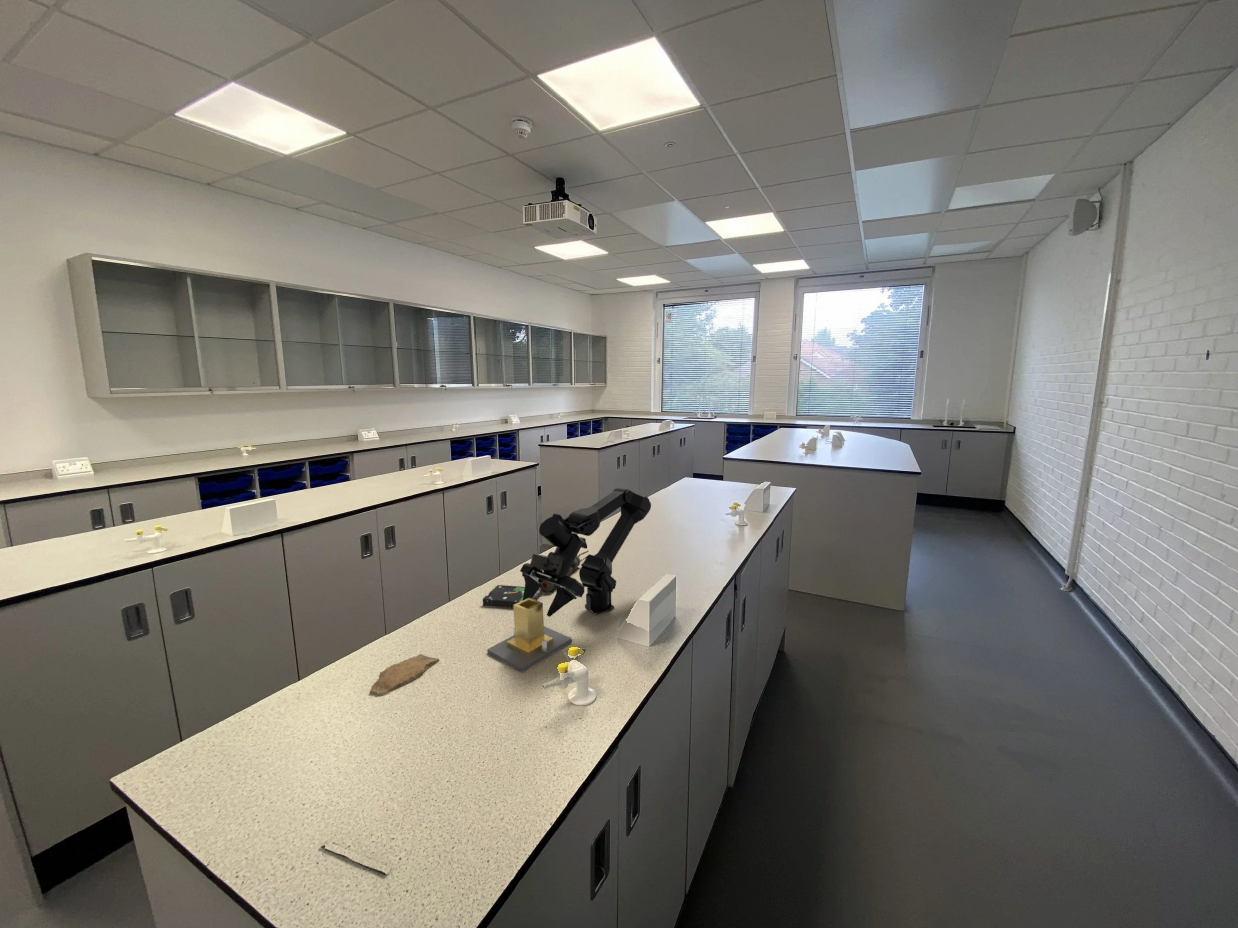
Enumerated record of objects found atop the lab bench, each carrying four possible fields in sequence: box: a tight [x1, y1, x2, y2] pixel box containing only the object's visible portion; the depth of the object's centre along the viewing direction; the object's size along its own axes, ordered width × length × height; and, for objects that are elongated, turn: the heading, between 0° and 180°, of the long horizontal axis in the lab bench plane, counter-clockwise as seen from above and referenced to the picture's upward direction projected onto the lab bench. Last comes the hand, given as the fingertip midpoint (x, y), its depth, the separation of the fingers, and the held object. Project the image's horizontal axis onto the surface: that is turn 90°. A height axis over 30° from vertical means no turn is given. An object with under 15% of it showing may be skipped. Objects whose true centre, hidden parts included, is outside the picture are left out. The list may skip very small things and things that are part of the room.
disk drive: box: [482, 584, 543, 609], centre depth 144 cm, size 10×3×15 cm
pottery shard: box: [370, 653, 440, 696], centre depth 108 cm, size 8×16×2 cm, turn 142°
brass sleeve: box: [507, 598, 553, 656], centre depth 117 cm, size 8×8×10 cm
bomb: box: [539, 550, 589, 593], centre depth 165 cm, size 5×34×5 cm, turn 161°
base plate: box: [486, 625, 573, 673], centre depth 118 cm, size 16×13×5 cm
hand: (535, 610), depth 118 cm, fingers open, 9 cm apart
